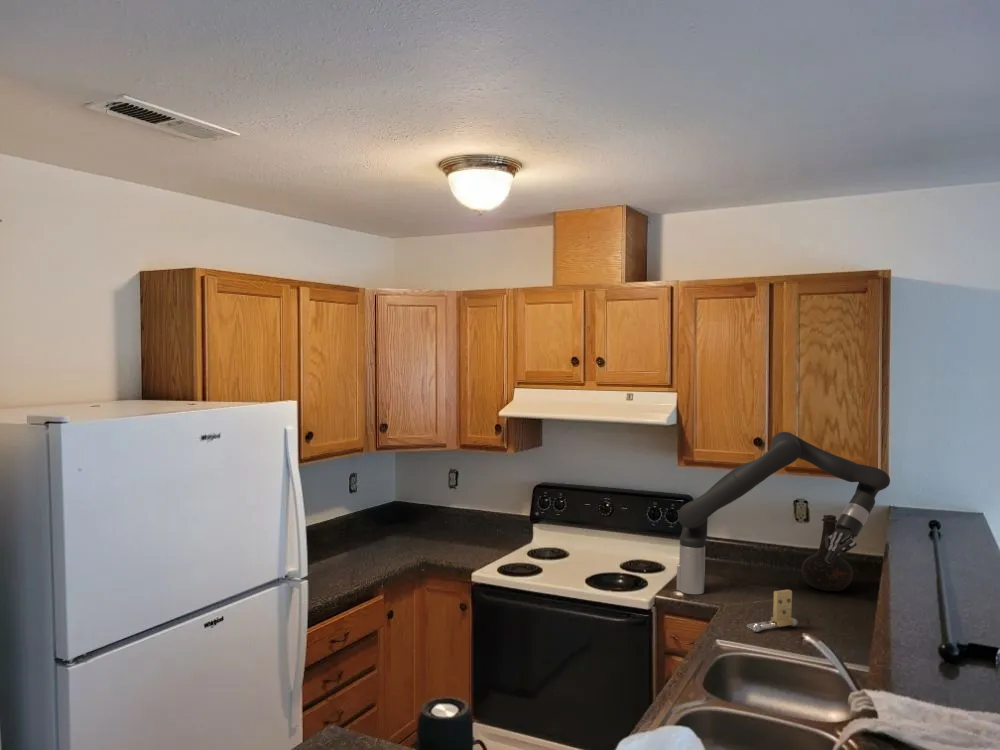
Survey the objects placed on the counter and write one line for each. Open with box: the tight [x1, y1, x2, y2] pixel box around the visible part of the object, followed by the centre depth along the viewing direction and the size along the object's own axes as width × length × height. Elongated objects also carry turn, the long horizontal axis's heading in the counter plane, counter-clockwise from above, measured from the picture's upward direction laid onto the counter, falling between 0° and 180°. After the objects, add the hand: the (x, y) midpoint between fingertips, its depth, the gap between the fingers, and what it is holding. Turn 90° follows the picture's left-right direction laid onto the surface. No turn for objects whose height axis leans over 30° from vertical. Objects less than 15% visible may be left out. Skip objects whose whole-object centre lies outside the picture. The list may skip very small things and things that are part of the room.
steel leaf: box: [746, 617, 799, 633], centre depth 241 cm, size 17×6×3 cm, turn 112°
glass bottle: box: [801, 514, 854, 592], centre depth 285 cm, size 18×18×28 cm
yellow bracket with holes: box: [770, 589, 794, 628], centre depth 241 cm, size 6×4×11 cm, turn 112°
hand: (827, 562), depth 249 cm, fingers closed
